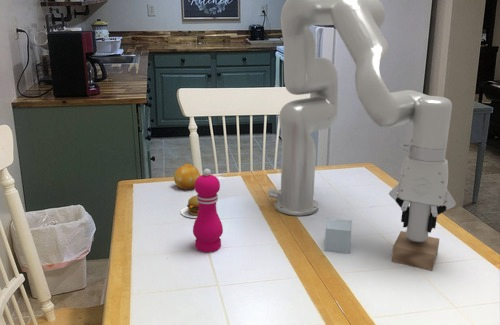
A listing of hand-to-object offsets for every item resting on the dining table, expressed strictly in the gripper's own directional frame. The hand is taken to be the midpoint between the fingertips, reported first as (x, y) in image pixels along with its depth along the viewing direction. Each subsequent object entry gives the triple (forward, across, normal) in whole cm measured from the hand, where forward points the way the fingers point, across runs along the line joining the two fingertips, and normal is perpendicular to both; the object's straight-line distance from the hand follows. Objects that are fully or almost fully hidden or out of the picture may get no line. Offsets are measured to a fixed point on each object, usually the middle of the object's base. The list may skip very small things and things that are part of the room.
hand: (417, 227), depth 118 cm
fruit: (+8, -73, +14) cm, 75 cm away
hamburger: (+9, -59, -2) cm, 60 cm away
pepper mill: (+8, -46, -18) cm, 50 cm away
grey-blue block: (+8, -18, -3) cm, 20 cm away
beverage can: (+3, 0, 0) cm, 3 cm away
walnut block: (+8, 0, 0) cm, 8 cm away
